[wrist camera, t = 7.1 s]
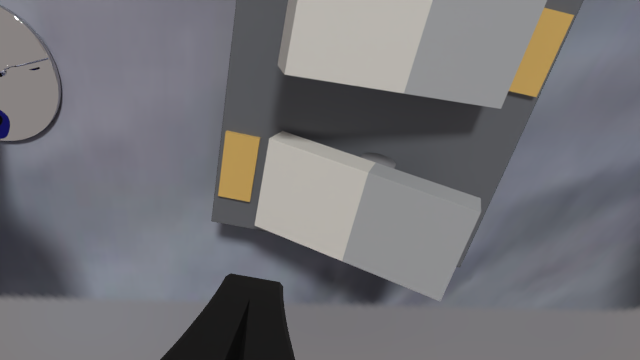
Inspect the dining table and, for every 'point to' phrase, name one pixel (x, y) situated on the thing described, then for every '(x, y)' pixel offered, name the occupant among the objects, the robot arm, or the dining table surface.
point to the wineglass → (25, 80)
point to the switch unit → (368, 116)
